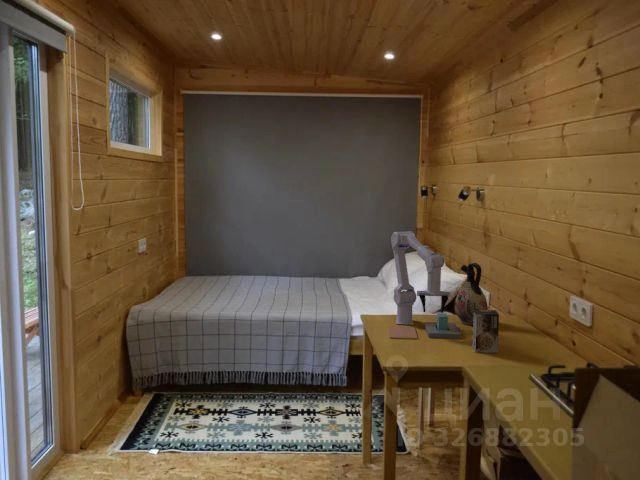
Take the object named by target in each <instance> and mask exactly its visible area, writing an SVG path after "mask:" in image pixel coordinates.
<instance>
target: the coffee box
mask: <svg viewBox="0 0 640 480" xmlns="http://www.w3.org/2000/svg"><path fill="white" fill-rule="evenodd" d="M499 319H500V314H499V313H498V311H497V310H495V309H488V310H474V316H473V325H472V349H473V351H474V353H486V354H487V353H488V354H489V353H491V354H492V353H493V354H496V353H497V354H498V353H499V330H500V329H499V325H500V323H499V322H500V320H499Z"/></svg>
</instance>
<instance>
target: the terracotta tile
mask: <svg viewBox="0 0 640 480" xmlns="http://www.w3.org/2000/svg"><path fill="white" fill-rule="evenodd" d="M388 333H389V334H388V335H389V339H390V338H395V340H396V339H397V340H418V334H417V332H416V328H415V327H412V326H411V327H409V326H405V327H404V326H403V327H402V326H388Z"/></svg>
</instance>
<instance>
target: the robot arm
mask: <svg viewBox="0 0 640 480" xmlns="http://www.w3.org/2000/svg"><path fill="white" fill-rule="evenodd" d="M390 241H391V249H392V250H393V257H394V258H393V259H394V264H395V272H396V279H397V286H396V287H395V288H394V289H393V301H394V303H395V304H396V306H397V307H396V309H397V311H396V318H395V324H396V325H403V326H404V325H407V326H408V325H409V326H410V325H414V320H413V306H414V305H415V303H416V301H417V297H419V299H420V301H421V305H422V309H423V311H422V312H423V313H426V297H441V300H440V301H441V302H440V303H441V305H440V313H444V309H445V307H446V304H447V302H448V301H449V298H451V296H452V294H451V291H445V290H444V291H443V290H441V286H442V285H441V284H442V283H441V278H442V268H443V267H444V264H445V258H444V256H443V255H442V254H441V253H440V254H439V253H438V254H437V253H436V252H435V251H433V250H432V249H431V248H430V246H428V245H423V244H422V243H421V242H420V241H419V240H418V239H417V238H416V234H415V233H414V232H413V231H412V230H409V231H408V230H407V231H394V232H392V235H391V237H390ZM410 247H411V248H412V249H414V250H416V251H417V255H418V257H419V258H420V259H422V261H423V262H424V264H425V266H426V272H427V279H426V280H427V281H426V283H427V284H426V286H427V287H426V290H417V291H415V287H414V286H413V285H412V284H410V279H409V273H408V268H407V266H408V265H407V260H406V259H407V258H406V250H407V249H409V248H410Z"/></svg>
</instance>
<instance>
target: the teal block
mask: <svg viewBox="0 0 640 480" xmlns="http://www.w3.org/2000/svg"><path fill="white" fill-rule="evenodd" d="M436 322H437V330H448V323H449V317H448V314H447V313H444V312H443V313H441V312H439V313H438V312H437V314H436Z"/></svg>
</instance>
